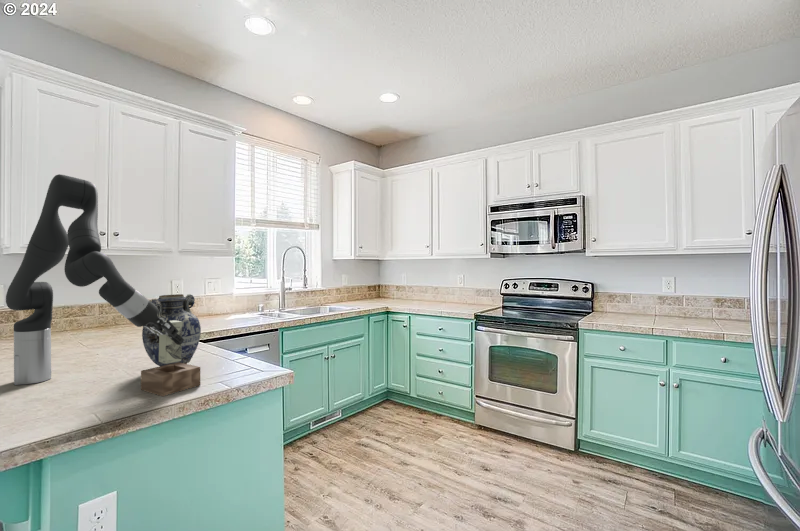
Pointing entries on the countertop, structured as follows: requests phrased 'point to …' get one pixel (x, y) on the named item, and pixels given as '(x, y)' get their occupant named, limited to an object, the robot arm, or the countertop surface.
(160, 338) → the box
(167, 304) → the decorative vase
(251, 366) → the countertop surface
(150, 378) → the holder block
